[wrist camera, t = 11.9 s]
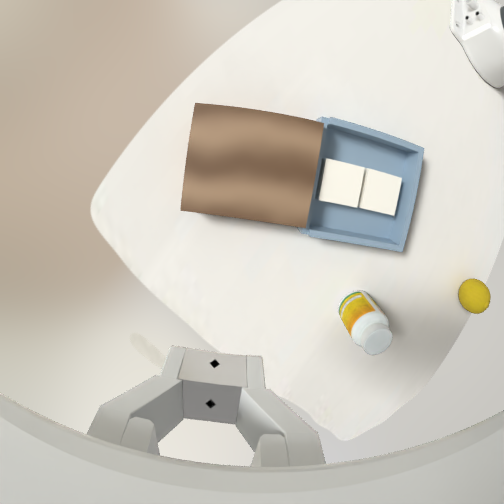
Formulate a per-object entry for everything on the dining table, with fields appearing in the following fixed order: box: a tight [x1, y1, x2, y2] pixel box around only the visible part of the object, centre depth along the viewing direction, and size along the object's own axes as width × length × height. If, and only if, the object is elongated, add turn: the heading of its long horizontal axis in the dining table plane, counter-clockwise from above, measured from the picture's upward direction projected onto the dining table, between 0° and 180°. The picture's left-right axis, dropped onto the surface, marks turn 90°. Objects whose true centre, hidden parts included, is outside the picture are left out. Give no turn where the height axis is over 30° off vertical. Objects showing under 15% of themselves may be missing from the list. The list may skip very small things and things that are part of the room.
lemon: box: [459, 279, 490, 314], centre depth 35 cm, size 6×6×8 cm
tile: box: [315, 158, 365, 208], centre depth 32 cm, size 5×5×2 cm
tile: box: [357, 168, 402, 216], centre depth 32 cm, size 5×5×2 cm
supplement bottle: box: [338, 290, 393, 355], centre depth 34 cm, size 5×5×10 cm
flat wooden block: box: [181, 103, 324, 228], centre depth 30 cm, size 12×14×4 cm
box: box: [298, 117, 424, 252], centre depth 32 cm, size 14×14×4 cm
